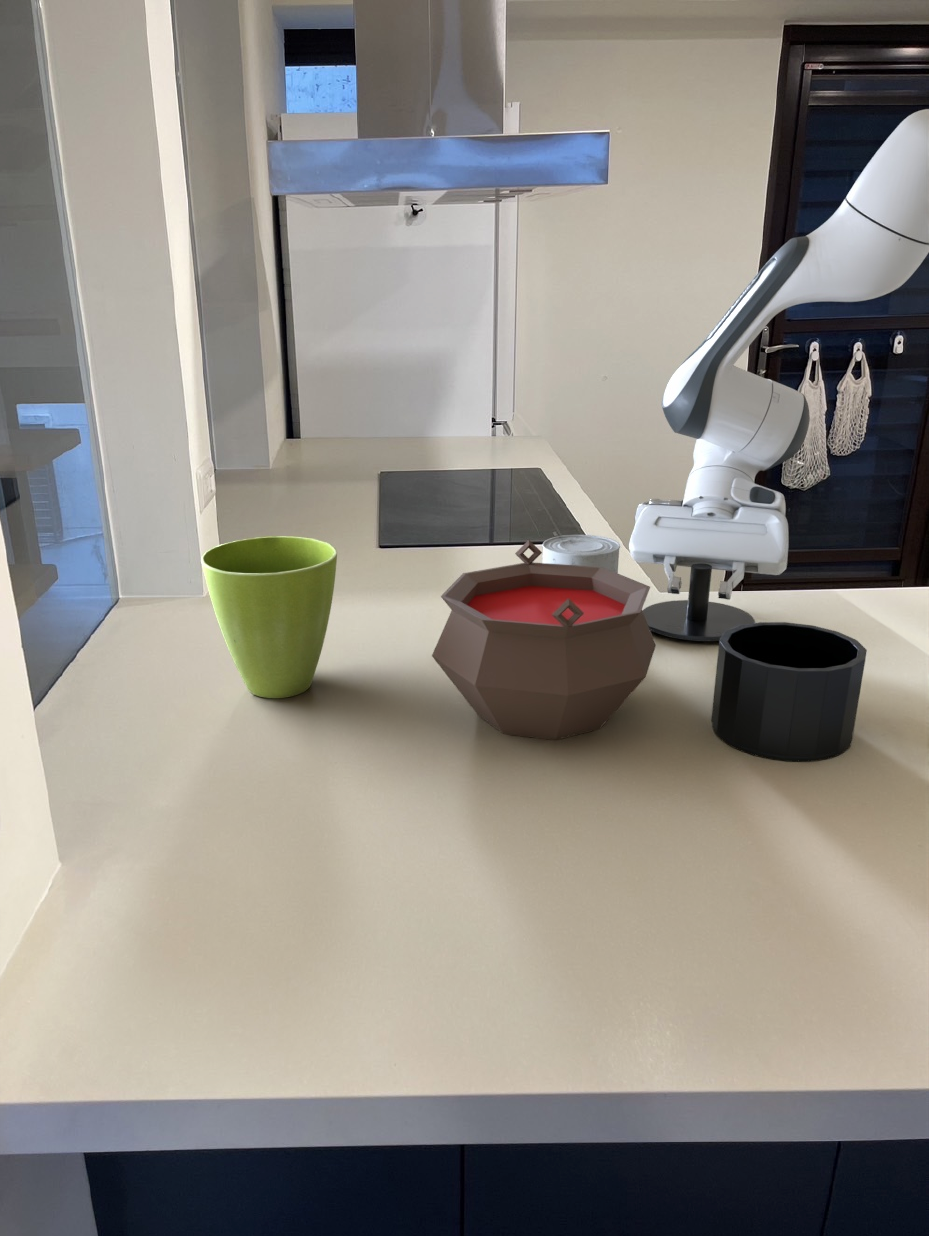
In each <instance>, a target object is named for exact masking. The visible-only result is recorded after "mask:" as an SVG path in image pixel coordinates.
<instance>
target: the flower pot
mask: <svg viewBox="0 0 929 1236" xmlns="http://www.w3.org/2000/svg"><path fill="white" fill-rule="evenodd" d="M337 560H338V550H337V548H336V547H335V546H334V545H332V544H330V543H329V542H326V541H323V540H320V539H316V538H309V537H303V536H290V535H289V536H288V535H286V536H285V535H282V536H260V537H252V538H245V539H239V540H233V541H229V542H226V543H221V544H219V545H216V546H214V547H212V548H210V549H208V550H206V551H205V552H204V553H203V554H202V555H201V557H200V562H201V566H202V567H201V568H202V570H203V574H204V578H205V583H206V587H207V591H208V594H209V597H210V600H211V604H212V608H213V611H214V614H215V618H216V620H217V623H218V626H219V628H220V631H221V635H222V637H223V639H224V641H225V644H226V646H227V649H228V652H229V654H230V656H231V658H232V661H233V662H234V665H235V667H236V668H237V671H238V673H239V675H240V677H241V679H242V682H243V683H244V685H245V686H246V689H247V691H248V692H249V693H251V694H252V695H253V696H257V697H259V698H265V699H284V698H290V697H295V696H298V695H301V694H303V693H304V692H306V691H307V690H308V689H309V688H310V687H311V685H312V683H313V680H314V677H315V675H316V674H315V673H316V671H317V667H318V664H319V662H320V661H319V660H320V658H321V654H322V650H323V647H324V642H325V638H326V633H327V631H328V626H329V625H328V624H329V620H330V615H331V611H332V610H331V609H332V605H333V598H334V597H333V596H334V590H335V584H336V583H335V581H336V573H337Z"/></svg>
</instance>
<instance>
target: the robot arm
mask: <svg viewBox="0 0 929 1236" xmlns="http://www.w3.org/2000/svg"><path fill="white" fill-rule="evenodd" d="M928 254H929V108H925V109H921V110H918V111H915V112H913V113H911V114H909V115H908V116H907V117H906V118H904V119H903V120H902V121H901V122H900V123H899V124H898V125H897V126H896V128H895V129H894V130H893V131H892V132H891V134H890V135H889V136H888V137H887V138H886V140H885V141H884V142H883V143H882V145H881V146H880V147H879V148H878V149H877V151H876V152H875V154H873V156H872V157H871V159H870V160H869V161H868V163H867V164H866V166H865V167H864V168H863V170H862V172H861V173H860V174H859V176H857V178H856V180H855V182H854V184H853V185H852V187H851V188H850V190H849V192H848V193H847V195H846V197H845V198H844V199H843V201H842V202H841V204H840V205H839V207H838V208H837V209H836V210H835V212H834V213H833V214H832V215H831V216H830V217H829V218H828V219H827V220H826V221H825V222H824V223H822V224H821V225H820V226H818V228H816V229H815V230H813V231H812V232H810V233H808V234H807V235H805V236H798V237H792V238H790V239H789V240H787V242H785V243H784V244H783V245H782V246H781V247H780V248H779V249H777V250H776V252H775V253H773V255H772V256H771V257H770V258H769V259H768V260H767V262H766V263H765V264H764V265H763V266H762V268H761V269H760V270H759V271H758V273H757V274H756V275H755V276H754V277H753V279H752V280H751V281H750V282H749V283H748V284H747V286H746V287H745V288H744V289H743V291H742V292H741V293H740V294H739V296H738V298H737V299H736V300H735V301H734V302H733V303H732V305H730V308H729V309H728V310H727V311H726V312H725V314H724V315H723V316H722V317H721V318H720V319H719V321H718V322H717V324H716V325H715V326H714V328H713V329H712V330H711V331H710V333H708V335H707V336H706V337H705V338H704V339H703V341H702V342H701V343H700V345H698V347H697V348H696V349H695V350H694V351H692V353H690V354H689V356H688V357H687V358H686V359H685V360H684V361H683V362H682V363H681V364H680V366H679V367H677V369H676V371H675V372H674V373H673V374H672V376H671V377H670V379H669V381H668V382H667V385H666V387H665V390H664V392H663V395H662V398H661V409H662V411H663V415H664V417H665V420H666V421H667V423H668V425H669V427H670V428H671V430H672V432H673V433H675V434H679V435H681V436H686V437H689V438H692V439H696V441H695V444H694V448H693V453H692V457H693V458H692V459H693V466H692V469H691V470H690V472H689V474H688V477H687V480H686V485H685V491H684V495H683V499H660V498H650V499H649V500H646V501H643V502H641V504H639V505H637V508H636V511H635V514H634V523H635V525H634V526H633V530H632V532H631V536H630V539H629V542H628V549H629V554H630V556H631V558H632V559H633V561H634V562H635V563H641V564H651V565H652V564H653V565H663V568H664V572H665V575H666V577H667V579H668V582H667V588H666V589H667V594H673V595H680V593H681V588H682V584H683V583H682V577H680V576H675V574H674V573H675V572H676V570H677V567H685V568H691V565H693V564H698V563H701V564H708V565H711V566H712V570H716V571H717V570H719V571H728V572H732V573H731V574H732V575H731V576H730V577H729V578H728V580H726V581H724V580H720V582H719V588H718V592H717V595H718V597H717V598H718V599H722V600H731V599H732V592H733V589H735V588H736V587H737V586H738V585H739V583H741V581H742V580H744V578H745V577H744V576H745V573H750V574H761V575H772V576H780V575H781V574H782V573H783V572H785V571H786V570H787V568H788V567H787V566H788V561H789V560H788V558H789V523H788V519H787V517H786V511H787V508H786V507H787V506H786V500H785V499H786V498H785V496H784V494H783V493H781V492H780V491H777V490H775V489H771V488H768V487H766V486H763V485H761V484H760V485H759V484H758V483H755V482H756V481H755V479H756V476H757V474H758V473H759V472H760V471H762V472H765V471H768V470H770V469H773V468H774V467H776V466H778V465H781V464H783V463H785V462H786V461H788V460H790V459H792V458H793V457H794V456H795V455H796V454H797V453H798V452H799V451H800V449H801V448H802V447H803V444H804V442H805V440H806V437H807V435H808V431H809V426H810V420H811V418H810V417H811V416H810V407H809V403H808V400H807V398H806V396H805V394H804V393H803V392H800V391H798V390H796V389H794V388H792V387H789V386H787V385H785V384H783V383H779V382H777V381H775V380H773V379H770V378H765V377H762V376H760V375H758V374H755V373H753V372H750V371H748V370H745V369H744V368H740V367H738V366H736V365H735V364H736V362H737V361H738V360H739V359H740V357H741V356H742V355H743V354H744V353H745V351H746V350H747V349H748V348H749V347H750V346H751V345H752V344H753V342H754V341H755V340H756V338H757V337H758V336H759V335H760V333H761V332H762V331H763V330H764V329H765V327H766V326H767V325H768V324H769V323H770V321H771V320H772V319H773V318H774V317H776V315H778V314H780V313H781V312H782V311H784V310H786V309H789V308H791V307H793V306H796V305H801V304H807V303H816V302H817V303H818V302H819V303H821V302H835V303H837V302H840V303H855V302H864V301H868V300H869V301H870V300H873V299H877V298H880V297H883V296H885V295H887V294H890V293H892V292H893V291H896V290H898V289H899V288H900V287H902V285H904V284H905V283H906V282H907V281H908V280H909V279H910V278H911V277H912V276H913V274H914V273H915V272H916V271H917V270H918V268H919V267H920V266H921V264H922V263H923V261H924V260H925V259H926V257H927V256H928Z"/></svg>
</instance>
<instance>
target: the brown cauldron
mask: <svg viewBox="0 0 929 1236" xmlns="http://www.w3.org/2000/svg"><path fill="white" fill-rule="evenodd" d="M528 549H529V550H530V551H531V552H532V554H531V555H530V556H529V557H528V556H527V555H526V554H525V553H526V551H527V550H528ZM542 554H543V551H541V550H540V549H539V548H538V547H537V546H536V545H535V544H534V542H532V541H531V540H530V539H528V540H527V541H526V542H525V543H524V544H523V545H522V546H521V547H519V549H517V551H516V552H515V553H514V555H515V556H516V557H518V558H519V559H520V560H521V561H522V562H520V563H515V564H508V565H503V566H497V567H491V568H485V569H480V570H473V571H468V572H463V573H462V574H460V575H459V577H457V579H456V580H455V581H454V582H453V583H452V584H451V585H450V586H449V587H448V588H447V589H446V590H445V591H444V592H443V593H442V594H441V595H440V598H441V599H442V600H443V601H444V603H445V604H446V605H447V606H448V607H449V609H451V611H450V613H449V616H448V618H447V620H446V622H445V624H444V627H443V629H442V631H441V634H440V636H439V638H438V640H437V642H436V645H435V647H434V649H433V652H432V654H431V657H432V658H433V659H434V661H435V663H437V665H438V666H439V667H440V669H441V670H442V671H443V673H444V674H445V675H446V676H447V678H448V679H449V680H450V682H451V683H452V684H453V685H454V686H455V688H456V689H457V691H459V693H460V695H462V697H463V699H465V701H466V702H467V703H468V705H469V706H470V707H471V708H472V710H473V711H474V712H475V714H476V715H477V716H479V717H480V718H481V719H482V720H484V721H485V722H486V723H488V724H490V725H491V726H492V727H493V728H495V729H496V730H498V731H499V732H500V733H502V734H503V735H510V736H516V737H517V736H519V737H526V738H533V739H541V740H542V739H543V740H551V741H559V740H561V739H566V738H569V737H573V736H578V735H582V734H585V733H589V732H592V731H593V732H594V731H597V730H600V729H601V728H602V727H603V726H604V725H605V724H606V722H607V721H608V720H609V719H610V718H611V717H612V716H613V715H614V713H616V711H617V710H618V709H619V708H620V707H621V706H622V705H623V703H624V702H625V701H626V700H627V699H628V698H629V696H631V695H632V693H633V692H634V691H635V690H636V689H637V688H638V686H639V685H640V684H641V683H642V682H644V680H645V679H646V678H647V676H648V675H647V674H648V671H649V668H650V665H651V662H652V660H653V655H654V652H655V649H656V646H657V644H656V642H655V638H654V636H653V634H652V631H651V630H650V629H649V626H648V624H647V621H646V619H645V616H644V614H643V611H642V610H643V609H644V608H643V607H644V605H645V603H646V600H647V598H648V594H649V592H650V589H651V586H650V585H648V584H645V583H642V582H639V581H638V580H635V579H633V578H630V577H628V576H625V575H622V574H620V573H619V572H618V573H615V572H613V571H610V570H608V569H606V568H603V567H593V566H578V565H563V564H549V563H543V562H535V560H536V559H538V557H539V556H540V555H542Z"/></svg>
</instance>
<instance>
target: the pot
mask: <svg viewBox="0 0 929 1236" xmlns="http://www.w3.org/2000/svg"><path fill="white" fill-rule="evenodd" d="M717 652H718V653H717V660H716V670H715V679H714V690H713V698H712V706H711V707H712V708H711V717H710V718H711V719H710V721H711V729H712V731H713V733H714V734H715V736H716V737H717V738H718V739H719V740H721V741H722V742H723V743H725V744H727V745H728V746H729V747H732V748H733V749H735V750H738V751H740V752H743V753H746V754H749V755H752V756H755V757H759V758H764V759H769V760H774V761H782V762H796V763H797V762H798V763H803V762H806V763H807V762H818V761H824V760H828V759H832V758H836V757H838V756H840V755H842V754H844V753H845V752H846V751H848V750H849V749H850V747H851V745H852V743H853V736H854V731H855V725H856V724H855V723H856V719H857V712H858V707H859V699H860V694H861V689H862V684H863V683H862V682H863V676H864V670H865V666H866V665H865V664H866V658H867V652H868V651H867V648H865V646H863V644H861V642H860V641H859V640H857V639H856V638H853V637H851V636H849V635H847V634H844V633H842V632H840V631H837V630H833V629H828V628H824V627H821V626H816V625H812V624H804V623H795V622H786V621H782V622H781V621H779V622H778V621H773V622H769V621H768V622H766V621H765V622H764V621H763V622H762V621H760V622H755V623H753V624H747V625H741V626H737V627H735V628H733V629H730V630H728V631H726V632H724V633H723V635H722V637H721V639H720V641H718V651H717Z"/></svg>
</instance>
